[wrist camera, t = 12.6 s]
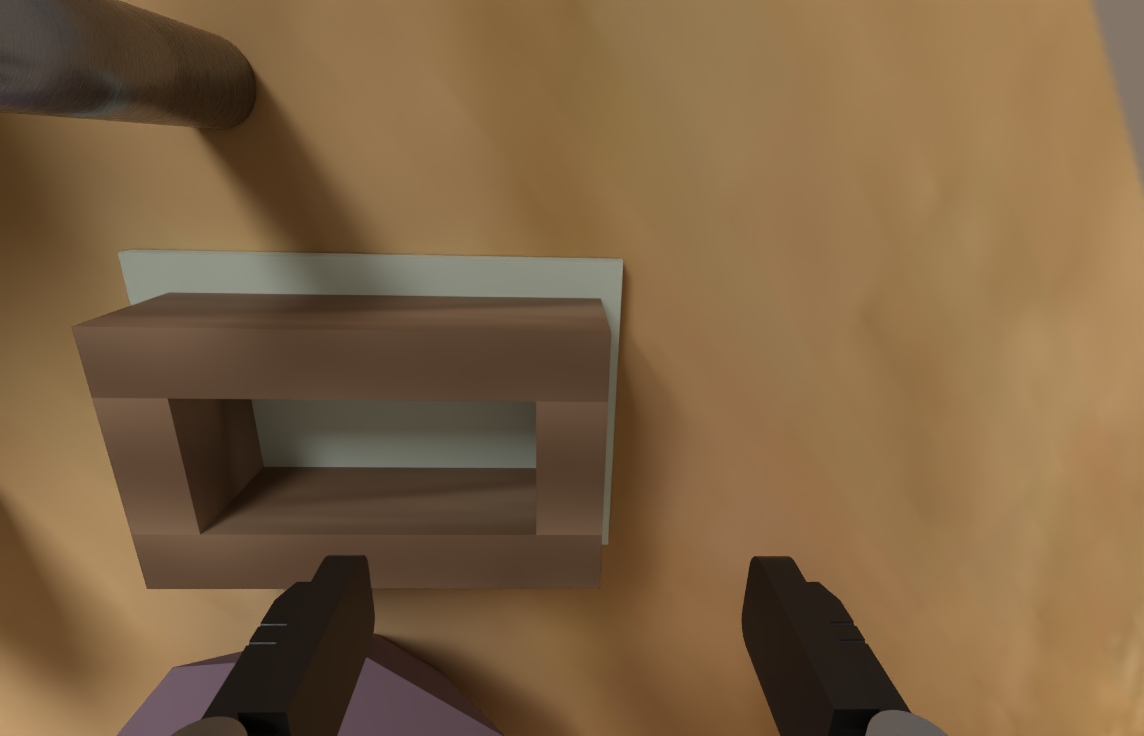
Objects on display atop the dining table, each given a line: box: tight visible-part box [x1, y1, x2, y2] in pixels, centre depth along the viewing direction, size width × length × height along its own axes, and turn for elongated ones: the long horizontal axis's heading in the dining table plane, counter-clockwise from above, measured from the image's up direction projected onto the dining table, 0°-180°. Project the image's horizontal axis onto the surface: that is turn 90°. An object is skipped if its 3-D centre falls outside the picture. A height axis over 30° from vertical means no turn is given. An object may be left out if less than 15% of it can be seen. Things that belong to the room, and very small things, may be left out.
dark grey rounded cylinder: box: [0, 0, 256, 129], centre depth 13 cm, size 3×3×10 cm
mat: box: [118, 249, 623, 545], centre depth 21 cm, size 11×16×1 cm
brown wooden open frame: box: [72, 292, 611, 589], centre depth 19 cm, size 8×14×4 cm, turn 89°
